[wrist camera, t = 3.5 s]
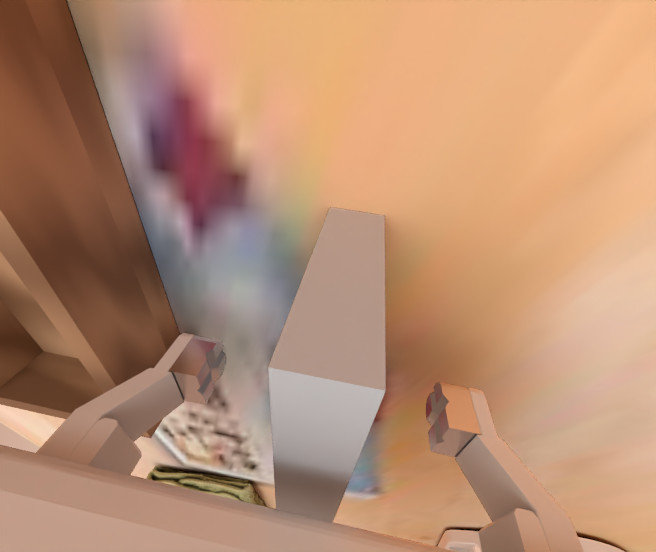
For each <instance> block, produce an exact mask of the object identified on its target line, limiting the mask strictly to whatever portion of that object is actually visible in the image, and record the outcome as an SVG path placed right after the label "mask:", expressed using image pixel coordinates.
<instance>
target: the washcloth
mask: <svg viewBox="0 0 656 552" xmlns="http://www.w3.org/2000/svg"><path fill="white" fill-rule="evenodd" d="M147 479H148V480H153V481H157V482H161V483H166V484H170V485H174V486H178V487H183V488H187V489H191V490H196V491H200V492H204V493H208V494H213V495H217V496H221V497H226V498H230V499H234V500H238V501H243V502H247V503H251V504H255V505H260V506H264V507H267V506H266V505H265V504H264V503H263V501H262V500H261V499H260V498H259V497H258V494H257V493H256V492H255V491H254V488H253V486H252V485H251V483H249V481H248V480H241V479H233V478H228V477H219V476H214V475H209V474H202V473H193V472H192V473H187V472H183V471H177V470H172V469H166V468H161V467H157V466H155V467H154V469H153V471H151V472H150V473H149V474H148V476H147Z"/></svg>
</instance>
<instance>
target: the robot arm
mask: <svg viewBox="0 0 656 552" xmlns="http://www.w3.org/2000/svg"><path fill="white" fill-rule="evenodd" d="M223 347H224V345H223V341H221V340H216V339H211V338H207V337H202V336H197V335H193V334H187V333H182V334H181V335H179V336H178V337H177V339H176V340H175V341H174V343H173V344H172V345H171V347H170V348H169V349H168V350H167V352H166V353H165V354H164V356H163V357H162V358H161V360H160V361H159V362H158V363H157V365H156V366H155V367H154V368H149V369H147V370H145V371H143V372H141V373H140V374H138V375H136V376H134V377H133V378H131V379H129V380H127V381H125V382H124V383H122V384H120V385H118V386H116V387H115V388H113V389H111V390H109V391H107V392H106V393H104V394H102V395H100V396H99V397H97V398H95V399H93V400H91V401H90V402H88V403H86V404H84V405H82V406H81V407H79V408H77V409H75V410H74V412H73V413H72V414H71V415H70V416H69V417H68V418H67V419H66V420H65V421H64V423H63V424H62V425H61V426H60V427H59V428H58V429H57V430H56V431H55V432H54V434H53V435H52V436H51V437H50V438H49V439H48V440H47V441H46V442H45V444H44V445H43V446H42V447H41V448H40V449H39V450H38V451H37V452H36V453H33V452H28V451H24V450H20V449H16V448H11V447H7V446H3V445H0V552H625V551H623V550H621V549H619V548H616V547H614V546H611V545H608V544H605V543H602V542H598V541H594V540H590V539H586V538H581V537H578V536H577V534H576V531H575V529H574V526H573V524H572V522H571V519H570V518H569V516H568V515H567V514H566V513H565V512H564V511H563V509H562V508H561V507H560V506H559V505H558V504H557V502H556V501H555V500H554V499H553V498H552V497H551V495H550V494H549V493H548V492H547V491H546V490H545V488H544V487H543V486H542V485H541V484H540V483H539V481H538V480H537V479H536V478H535V477H534V475H533V474H532V473H531V472H530V471H529V470H528V468H527V467H526V466H525V465H524V464H523V463H522V461H521V460H520V459H519V458H518V457H517V456H516V454H515V453H514V452H513V451H512V450H511V449H510V447H509V446H508V445H507V444H506V443H505V442H504V440H502V439H498V436H497V432H496V429H495V426H494V423H493V420H492V417H491V413H490V410H489V407H488V404H487V401H486V398H485V395H484V393H483V391H481V390H478V389H473V388H467V387H464V386H458V385H453V384H447V383H441V382H438V383H436V384H435V386H434V392H433V393H430V395H429V397H428V398H427V403H426V417H427V420H428V422H429V423H430V424H431V426H432V427H431V429H430V430H429V432H428V434H429V441H430V449H431V452H435V453H439V454H443V455H447V456H451V457H456V458H455V460H456V461H457V463H458V465H459V466H460V468H461V470H462V471H463V473H464V475H465V476H466V478H467V480H468V481H469V483H470V485H471V486H472V488H473V490H474V491H475V493H476V495H477V496H478V498H479V500H480V501H481V503H482V505H483V506H484V508H485V510H486V511H487V513H488V515H489V517H490V518H491V520H492V523H490V524H488V525H487V526H485V527H483V528H482V529H481V530H480V531H468V530H447V531H445V533H444V534H443V536H442V538H441V540H440V542H439V544H438V546H437V547H435V546H431V545H427V544H423V543H418V542H414V541H410V540H405V539H401V538H397V537H393V536H388V535H384V534H380V533H375V532H371V531H367V530H363V529H358V528H354V527H350V526H345V525H341V524H337V523H333V522H328V521H324V520H320V519H315V518H311V517H307V516H303V515H298V514H294V513H290V512H285V511H281V510H277V509H273V508H268V507H264V506H260V505H255V504H251V503H247V502H243V501H238V500H234V499H230V498H226V497H221V496H217V495H213V494H208V493H204V492H200V491H196V490H191V489H187V488H183V487H178V486H174V485H170V484H166V483H161V482H157V481H153V480H148V479H144V478H140V477H136V476H131V475H130V474H131V473H132V471H133V469H134V468H135V466H136V464H137V463H138V461H139V459H140V458H141V456H142V455H141V451H140V450H139V448H138V447H137V446H136V444H135V443H134V441H135V440H137V439H138V438H139V437H140V436H142V435H143V434H144V433H145V432H147V431H148V430H149V429H150V428H152V427H153V426H154V425H155V424H157V423H158V422H159V421H160V420H162V419H163V418H164V417H165V416H167V415H168V414H169V413H170V412H172V411H173V410H174V409H175V408H177V407H178V406H179V405H180V404H182V403H183V402H184V400H185V401H190V402H196V403H202V404H206V403H207V401H208V399H209V397H210V395H211V394H212V392H213V390H214V381H215V380H217V379H218V378H220V377H221V375H222V373H223V371H224V367H225V364H226V354H225V353H224V352H223V351H222V349H223Z"/></svg>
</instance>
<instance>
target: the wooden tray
mask: <svg viewBox="0 0 656 552" xmlns="http://www.w3.org/2000/svg"><path fill="white" fill-rule="evenodd" d="M179 335H180V334H179V331H178V329H177V326H176V323H175V320H174V317H173V314H172V311H171V308H170V305H169V302H168V299H167V296H166V293H165V290H164V287H163V285H162V282H161V279H160V276H159V273H158V270H157V267H156V264H155V261H154V258H153V255H152V252H151V249H150V246H149V243H148V241H147V238H146V235H145V232H144V229H143V226H142V223H141V220H140V217H139V214H138V211H137V208H136V205H135V202H134V199H133V197H132V194H131V191H130V188H129V185H128V182H127V179H126V176H125V173H124V170H123V167H122V164H121V161H120V158H119V155H118V153H117V150H116V147H115V144H114V141H113V138H112V135H111V132H110V129H109V126H108V123H107V120H106V117H105V114H104V112H103V109H102V106H101V103H100V100H99V97H98V94H97V91H96V88H95V85H94V82H93V79H92V76H91V73H90V70H89V68H88V65H87V62H86V59H85V56H84V53H83V50H82V47H81V44H80V41H79V38H78V35H77V32H76V29H75V26H74V24H73V21H72V18H71V15H70V12H69V9H68V6H67V3H66V0H0V404H2V405H6V406H10V407H15V408H19V409H24V410H28V411H33V412H37V413H41V414H46V415H50V416H55V417H59V418H64V419H67V418H68V417H69V416H70V415H71V414H72V413H73V412H74V410H75V409H77V408H79V407H81V406H82V405H84V404H86V403H88V402H90V401H91V400H93V399H95V398H97V397H99V396H100V395H102V394H104V393H106V392H107V391H109V390H111V389H113V388H115V387H116V386H118V385H120V384H122V383H124V382H125V381H127V380H129V379H131V378H133V377H134V376H136V375H138V374H140V373H141V372H143V371H145V370H147V369H149V368H154V367H155V366H156V365H157V363H158V362H159V361H160V360H161V358H162V357H163V356H164V354H165V353H166V352H167V350H168V349H169V348H170V347H171V345H172V344H173V343H174V341H175V340H176V339H177V337H178V336H179ZM161 421H162V420H160V421H159V422H158V423H157V424H155V425H154V426H153V427H152V428H150V429H149V430H148V431H147V432H145V433H144V434H143V435H142V436H143V437H148V438H151V437H152V435H153V434H154V432H155V430H156V429H157V427H158V426H159V424H160V423H161Z"/></svg>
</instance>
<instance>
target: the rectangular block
mask: <svg viewBox="0 0 656 552" xmlns="http://www.w3.org/2000/svg"><path fill="white" fill-rule="evenodd" d="M268 374H269V392H270V409H271V426H272V444H273V461H274V479H275V496H276V509H277V510H281V511H285V512H290V513H294V514H298V515H303V516H307V517H311V518H315V519H320V520H324V521H328V522H333V520H334V517H335V515H336V512H337V510H338V507H339V505H340V502H341V500H342V497H343V495H344V492H345V490H346V488H347V485H348V483H349V480H350V478H351V475H352V473H353V470H354V468H355V465H356V463H357V460H358V458H359V455H360V453H361V451H362V448H363V446H364V443H365V441H366V438H367V436H368V433H369V431H370V428H371V426H372V423H373V421H374V418H375V416H376V414H377V411H378V409H379V406H380V404H381V401H382V399H383V396H384V394H385V391H386V354H385V215H379V214H372V213H366V212H360V211H353V210H347V209H340V208H334V207H330V209H329V211H328V214H327V216H326V219H325V222H324V224H323V227H322V229H321V232H320V234H319V237H318V240H317V242H316V245H315V247H314V250H313V253H312V255H311V258H310V260H309V263H308V265H307V268H306V271H305V273H304V276H303V278H302V281H301V284H300V286H299V289H298V291H297V294H296V296H295V299H294V302H293V304H292V307H291V309H290V312H289V315H288V317H287V320H286V322H285V325H284V327H283V330H282V333H281V335H280V338H279V340H278V343H277V346H276V348H275V351H274V353H273V356H272V359H271V361H270V364H269V366H268Z"/></svg>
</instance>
